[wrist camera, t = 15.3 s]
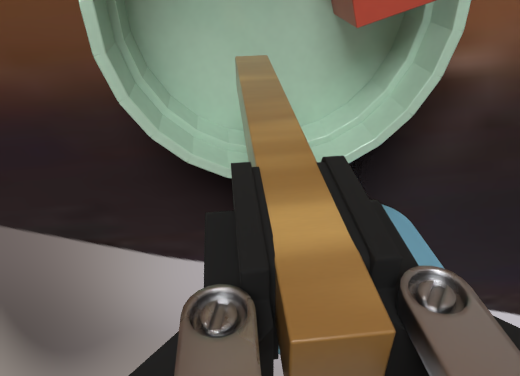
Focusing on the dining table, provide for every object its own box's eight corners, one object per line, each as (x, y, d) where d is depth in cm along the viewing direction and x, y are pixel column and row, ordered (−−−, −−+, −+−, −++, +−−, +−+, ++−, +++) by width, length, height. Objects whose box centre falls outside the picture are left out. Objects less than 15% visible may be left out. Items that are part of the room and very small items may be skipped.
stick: (234, 56, 19) (290, 343, 6) (267, 54, 19) (398, 331, 6) (236, 88, 20) (287, 403, 6) (267, 86, 20) (381, 391, 7)
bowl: (179, -338, 15) (170, -444, 11) (488, -78, 21) (560, -81, 16) (66, 73, 22) (34, 105, 18) (316, 177, 28) (336, 219, 24)
